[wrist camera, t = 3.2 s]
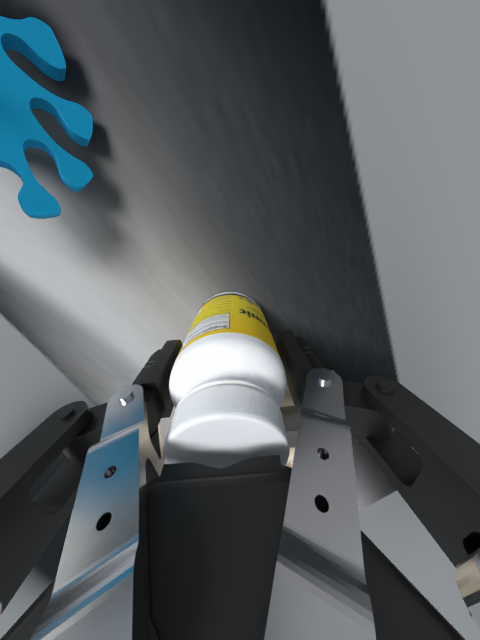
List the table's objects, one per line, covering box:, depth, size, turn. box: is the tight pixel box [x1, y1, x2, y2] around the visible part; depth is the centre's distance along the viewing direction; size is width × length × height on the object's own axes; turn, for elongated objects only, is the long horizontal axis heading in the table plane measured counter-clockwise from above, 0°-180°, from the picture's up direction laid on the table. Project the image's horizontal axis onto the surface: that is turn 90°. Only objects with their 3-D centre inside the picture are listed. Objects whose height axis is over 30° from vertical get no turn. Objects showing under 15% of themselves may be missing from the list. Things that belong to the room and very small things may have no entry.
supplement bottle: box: [164, 292, 290, 468], centre depth 10 cm, size 5×5×10 cm
